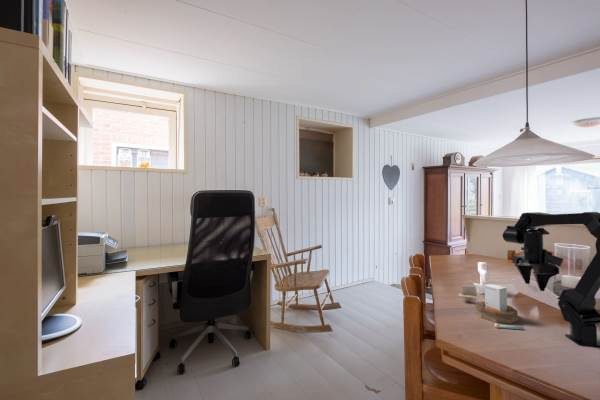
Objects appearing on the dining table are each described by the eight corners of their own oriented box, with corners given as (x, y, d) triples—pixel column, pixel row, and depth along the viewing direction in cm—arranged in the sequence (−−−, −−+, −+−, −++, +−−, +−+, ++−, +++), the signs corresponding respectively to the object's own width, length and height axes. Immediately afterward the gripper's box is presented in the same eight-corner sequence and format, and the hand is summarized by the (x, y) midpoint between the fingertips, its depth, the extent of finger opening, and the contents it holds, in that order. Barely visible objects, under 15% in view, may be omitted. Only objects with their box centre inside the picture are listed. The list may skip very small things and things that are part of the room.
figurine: (478, 295, 136) (477, 264, 136) (472, 289, 145) (471, 260, 145) (495, 296, 134) (494, 264, 134) (488, 290, 143) (487, 261, 143)
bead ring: (522, 324, 103) (522, 314, 103) (484, 321, 106) (484, 312, 106) (506, 311, 115) (506, 302, 115) (472, 309, 118) (472, 301, 118)
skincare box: (485, 314, 112) (484, 284, 113) (492, 313, 114) (491, 283, 114) (500, 320, 107) (499, 288, 107) (508, 318, 108) (507, 287, 108)
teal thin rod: (521, 328, 100) (521, 324, 100) (524, 330, 98) (523, 326, 98) (493, 326, 102) (493, 322, 102) (495, 328, 100) (495, 324, 100)
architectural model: (478, 305, 124) (477, 288, 124) (460, 303, 126) (459, 287, 126) (476, 303, 127) (476, 286, 127) (459, 301, 129) (458, 285, 129)
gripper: (577, 250, 94) (578, 296, 94) (542, 242, 113) (544, 281, 112) (538, 249, 97) (540, 294, 97) (511, 242, 115) (512, 280, 115)
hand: (534, 287), depth 105 cm, fingers open, 9 cm apart
